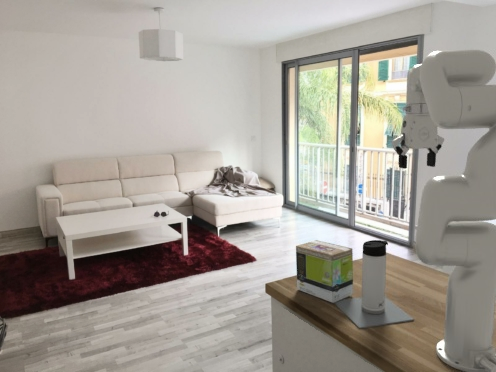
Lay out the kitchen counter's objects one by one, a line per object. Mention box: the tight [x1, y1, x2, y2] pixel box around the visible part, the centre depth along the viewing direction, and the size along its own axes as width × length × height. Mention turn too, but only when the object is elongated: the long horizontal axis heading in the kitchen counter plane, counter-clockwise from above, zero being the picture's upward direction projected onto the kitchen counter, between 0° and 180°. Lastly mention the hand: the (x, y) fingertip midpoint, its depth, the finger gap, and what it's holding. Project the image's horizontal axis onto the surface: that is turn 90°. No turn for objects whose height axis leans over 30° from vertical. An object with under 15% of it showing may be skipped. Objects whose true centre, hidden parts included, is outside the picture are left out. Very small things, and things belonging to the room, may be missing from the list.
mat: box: [333, 296, 415, 330], centre depth 117 cm, size 16×16×1 cm
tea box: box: [295, 239, 354, 304], centre depth 128 cm, size 15×10×15 cm, turn 38°
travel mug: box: [361, 239, 389, 315], centre depth 115 cm, size 6×7×20 cm
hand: (416, 167), depth 127 cm, fingers open, 9 cm apart
